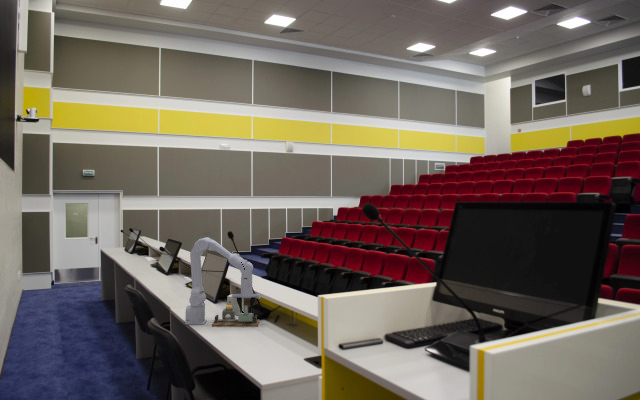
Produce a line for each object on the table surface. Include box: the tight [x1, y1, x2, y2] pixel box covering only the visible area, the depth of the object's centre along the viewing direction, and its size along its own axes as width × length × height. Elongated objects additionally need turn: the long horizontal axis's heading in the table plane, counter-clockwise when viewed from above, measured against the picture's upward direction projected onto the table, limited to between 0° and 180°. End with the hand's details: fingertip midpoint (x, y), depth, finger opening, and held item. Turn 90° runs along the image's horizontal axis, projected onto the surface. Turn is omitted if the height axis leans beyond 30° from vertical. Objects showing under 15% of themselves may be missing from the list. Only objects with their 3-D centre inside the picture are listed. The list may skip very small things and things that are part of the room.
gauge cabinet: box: [221, 308, 236, 319], centre depth 243 cm, size 6×6×5 cm
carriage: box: [237, 305, 254, 321], centre depth 235 cm, size 7×7×7 cm
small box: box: [226, 294, 245, 317], centre depth 254 cm, size 8×6×10 cm
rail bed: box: [211, 314, 260, 328], centre depth 234 cm, size 23×10×4 cm, turn 93°
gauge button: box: [225, 304, 232, 310], centre depth 243 cm, size 3×3×2 cm
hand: (246, 312), depth 235 cm, fingers open, 4 cm apart
